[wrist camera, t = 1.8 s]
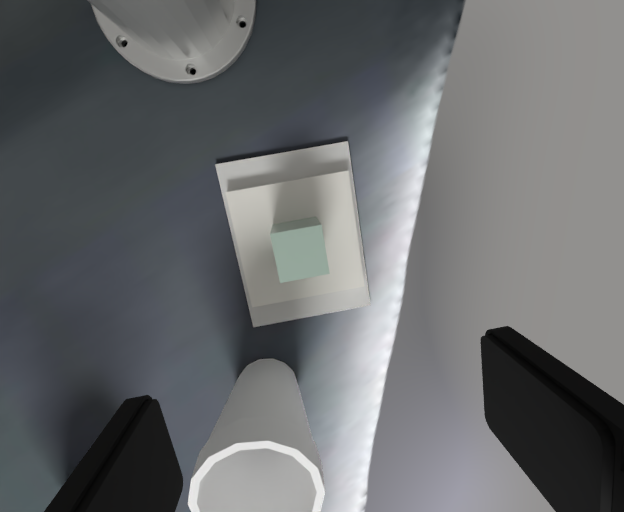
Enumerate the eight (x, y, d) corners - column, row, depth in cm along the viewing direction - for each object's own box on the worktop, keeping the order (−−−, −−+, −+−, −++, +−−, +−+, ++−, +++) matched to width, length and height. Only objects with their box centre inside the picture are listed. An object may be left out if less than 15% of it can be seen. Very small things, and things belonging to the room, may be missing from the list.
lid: (227, 191, 31) (213, 196, 25) (346, 170, 31) (360, 170, 25) (253, 303, 34) (246, 331, 28) (362, 283, 34) (378, 306, 28)
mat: (216, 164, 31) (215, 164, 30) (347, 141, 31) (348, 141, 31) (253, 325, 35) (253, 327, 34) (369, 303, 35) (370, 305, 34)
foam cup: (325, 363, 36) (346, 465, 24) (291, 432, 38) (293, 562, 25) (241, 332, 35) (215, 423, 22) (209, 406, 36) (168, 530, 24)
